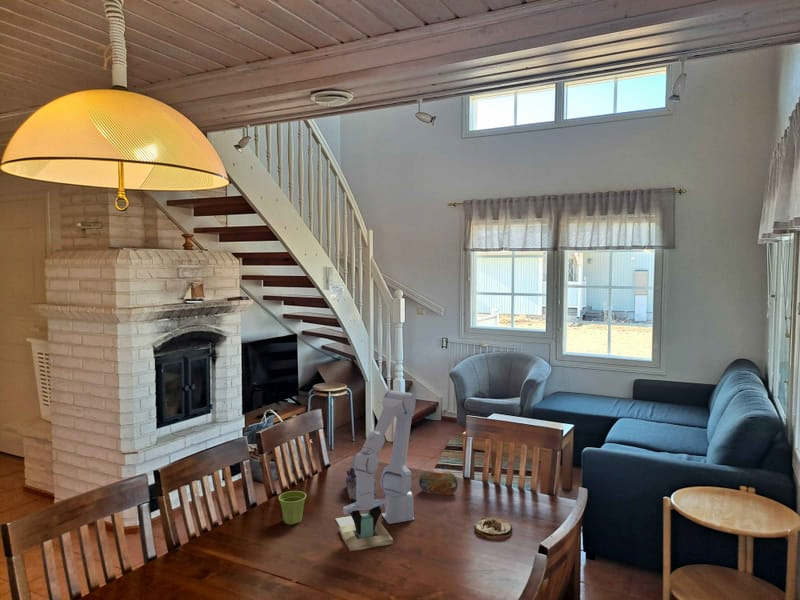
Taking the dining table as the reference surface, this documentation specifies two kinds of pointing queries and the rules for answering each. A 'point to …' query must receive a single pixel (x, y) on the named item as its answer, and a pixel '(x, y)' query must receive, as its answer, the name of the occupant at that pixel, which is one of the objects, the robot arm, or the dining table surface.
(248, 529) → the dining table surface
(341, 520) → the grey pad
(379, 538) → the board
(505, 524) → the beige round shallow dish
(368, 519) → the teal block
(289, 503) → the plant pot
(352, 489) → the geode
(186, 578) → the dining table surface
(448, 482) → the tin
